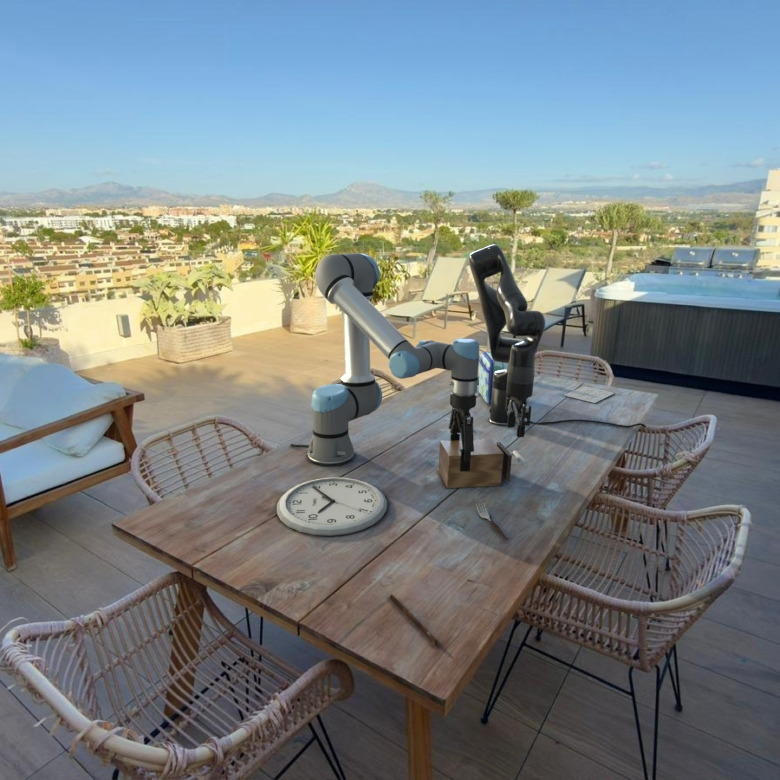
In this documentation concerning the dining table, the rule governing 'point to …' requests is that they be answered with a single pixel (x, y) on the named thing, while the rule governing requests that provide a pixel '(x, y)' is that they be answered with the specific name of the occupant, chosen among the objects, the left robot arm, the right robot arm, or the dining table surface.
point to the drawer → (509, 461)
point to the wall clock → (331, 506)
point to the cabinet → (471, 464)
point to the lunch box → (488, 375)
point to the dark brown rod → (413, 619)
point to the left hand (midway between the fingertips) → (459, 462)
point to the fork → (487, 516)
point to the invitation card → (589, 394)
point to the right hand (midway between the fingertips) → (515, 431)
